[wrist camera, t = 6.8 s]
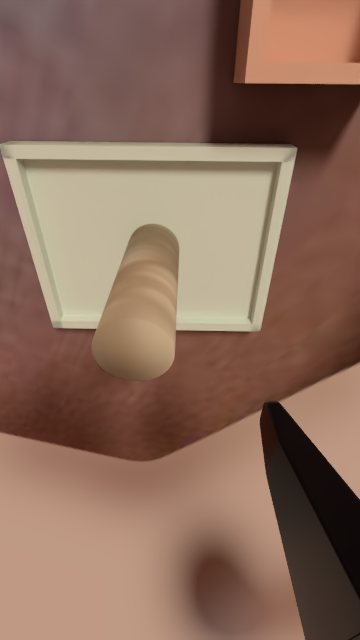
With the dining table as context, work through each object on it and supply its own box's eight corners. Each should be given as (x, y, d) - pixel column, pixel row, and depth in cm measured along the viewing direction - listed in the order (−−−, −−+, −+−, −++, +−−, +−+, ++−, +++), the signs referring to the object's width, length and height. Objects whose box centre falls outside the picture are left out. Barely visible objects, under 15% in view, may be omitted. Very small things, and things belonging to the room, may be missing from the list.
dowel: (179, 224, 18) (174, 320, 11) (179, 271, 20) (174, 381, 12) (126, 223, 18) (84, 318, 11) (130, 270, 20) (98, 380, 12)
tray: (290, 144, 16) (297, 147, 15) (256, 320, 22) (260, 331, 21) (10, 140, 16) (-1, 144, 15) (59, 317, 22) (53, 327, 22)
